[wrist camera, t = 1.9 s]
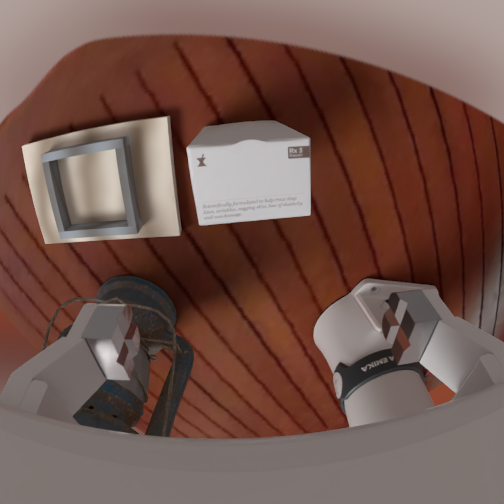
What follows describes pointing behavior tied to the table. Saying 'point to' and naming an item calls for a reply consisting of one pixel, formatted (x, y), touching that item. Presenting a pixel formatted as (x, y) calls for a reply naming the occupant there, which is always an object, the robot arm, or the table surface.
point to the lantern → (138, 361)
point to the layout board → (105, 182)
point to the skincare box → (250, 172)
